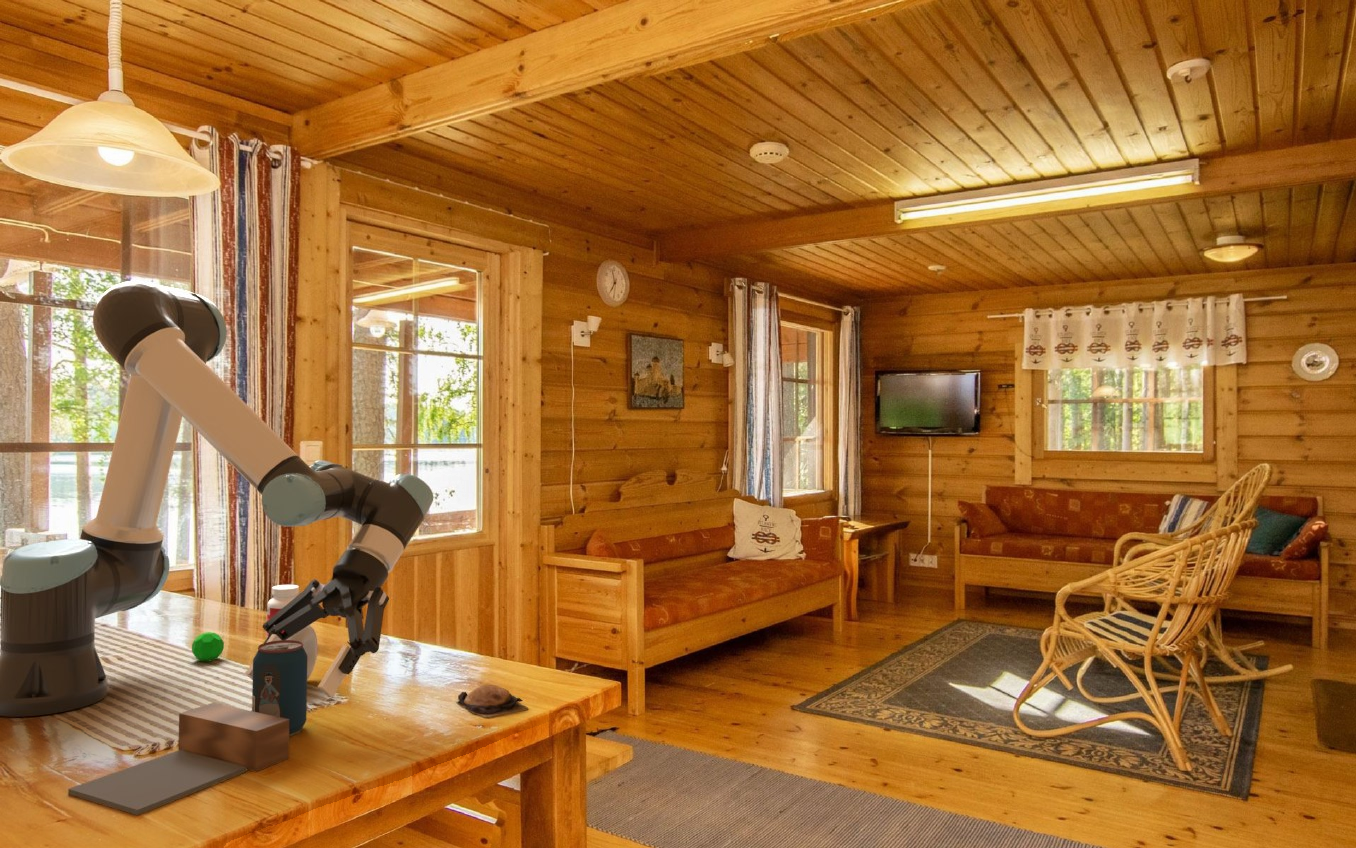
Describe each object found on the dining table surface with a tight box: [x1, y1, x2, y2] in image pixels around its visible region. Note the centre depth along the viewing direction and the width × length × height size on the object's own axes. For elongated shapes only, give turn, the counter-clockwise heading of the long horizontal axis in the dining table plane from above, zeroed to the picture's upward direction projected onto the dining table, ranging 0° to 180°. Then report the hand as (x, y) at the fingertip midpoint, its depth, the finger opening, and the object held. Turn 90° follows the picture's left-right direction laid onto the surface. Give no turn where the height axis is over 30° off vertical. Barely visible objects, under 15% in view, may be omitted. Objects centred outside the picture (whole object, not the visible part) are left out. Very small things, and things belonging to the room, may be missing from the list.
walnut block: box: [177, 702, 290, 773], centre depth 118 cm, size 14×5×5 cm, turn 65°
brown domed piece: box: [456, 684, 529, 720], centre depth 141 cm, size 11×8×4 cm
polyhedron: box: [191, 631, 225, 662], centre depth 162 cm, size 5×5×5 cm
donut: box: [286, 624, 319, 680], centre depth 149 cm, size 10×4×10 cm, turn 0°
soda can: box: [251, 640, 308, 737], centre depth 127 cm, size 7×7×12 cm
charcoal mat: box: [67, 750, 247, 816], centre depth 109 cm, size 12×14×1 cm
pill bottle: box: [266, 584, 300, 638], centre depth 173 cm, size 6×6×11 cm
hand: (287, 685), depth 127 cm, fingers open, 13 cm apart
